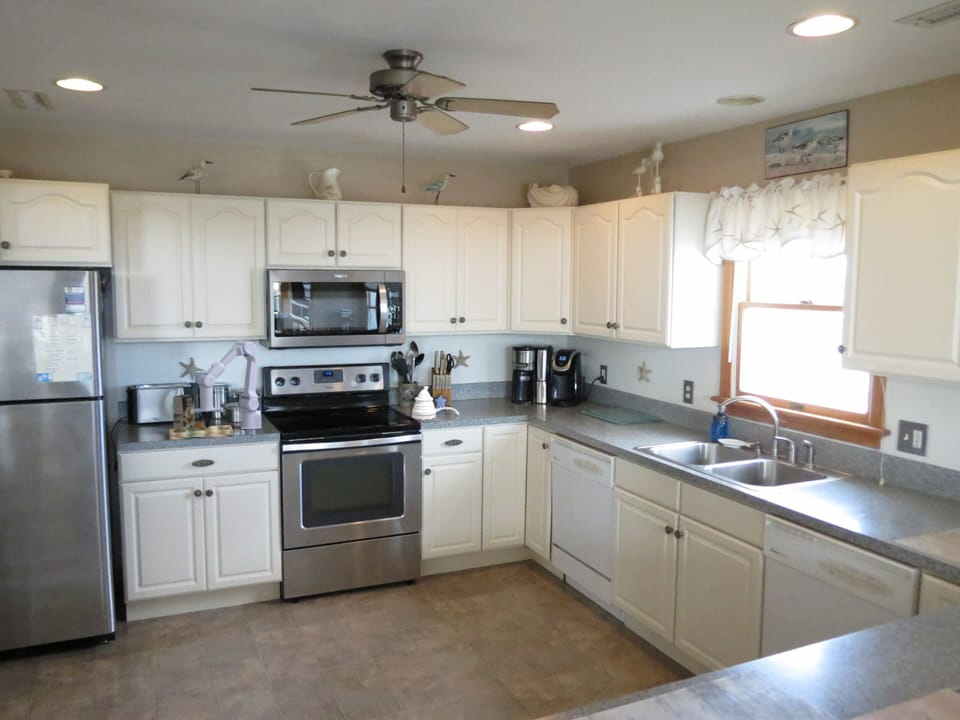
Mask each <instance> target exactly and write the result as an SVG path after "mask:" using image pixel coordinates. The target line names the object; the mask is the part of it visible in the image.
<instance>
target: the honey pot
mask: <svg viewBox="0 0 960 720" xmlns="http://www.w3.org/2000/svg"><path fill="white" fill-rule="evenodd" d="M428 389H429V386H426V385H425V386H423V389H422V390H421V391H419V393H418V395H417V397H414V400H415V401H414V404H413V409H412V410H411V419H412V418H415V419H422V420H425V419H432V418H435V417H436V416H437V410H436V408H435V404H434V402H433V400H434V398H433V397H432V396H431V394H430V393H429V391H428Z"/></svg>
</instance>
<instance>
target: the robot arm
mask: <svg viewBox="0 0 960 720" xmlns="http://www.w3.org/2000/svg"><path fill="white" fill-rule="evenodd" d="M239 356H242V357H244V358H245V359H246V370H245V377H244V378H245V379H244V386H243V387H244V389H243V392H241V394H240V398H239V400H238V406H239V407H240V410H241V411H240V414H241V425H240V426H239V427H240V429H241V430H242V429H246V430H259V429H262V413H261V412H262V411H261V410H258V408H259V406H260V402H259V396H258V394H257V393H256V391H257V390H256V388H257V379H258V369H259V362H260V361H259V359H260V357H259V353H258V350H257V345H256V344H254V342H252V341H246V340H238V341H236V342H235V343H234V344H233V345H232V346H231V348H230V349H229V351H228V352H226V354H225V355H224V357H222V358H221V360H220V361H218V362H215V363H212V364H211V367H209V368H208V369H207V370H206V371H205V372H204V374H201V375H200V376H199V377H198V379H197V384H198V385H199V389H200V390H199V395H200V396H199V397H200V401H199V402H200V407H197V408H196V407H195V408H194V409H191V413H194V414H201V416H202V419H203V420H204V426H206V428H209V426H210V422H211V420H212V418H213V415H214V413H223V412H224V407H223V406H220V407H217V406H214V386H215V384H216V380H217V379H218V378H219V377H220V376H221V375H222V374H223V373H224V372H225V370H226V369H225V367H227V366H228V365H229V364H230V363H231V362H232V361H233V360H234V359H235V358H236V357H239Z"/></svg>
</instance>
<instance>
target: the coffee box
mask: <svg viewBox="0 0 960 720" xmlns="http://www.w3.org/2000/svg"><path fill="white" fill-rule="evenodd" d="M172 404H173V405H172V410H173V413H172V416H173V428H187V427H190V426H192V427H194V426H193V425H194V421H196V420H195V413H191V409H195V394H179V395H175V396H172Z"/></svg>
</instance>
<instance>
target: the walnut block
mask: <svg viewBox="0 0 960 720" xmlns="http://www.w3.org/2000/svg"><path fill="white" fill-rule="evenodd" d="M193 427H194V431H202V430H204V427H205V421H204V419H203V420H195V421H194V426H193Z"/></svg>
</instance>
